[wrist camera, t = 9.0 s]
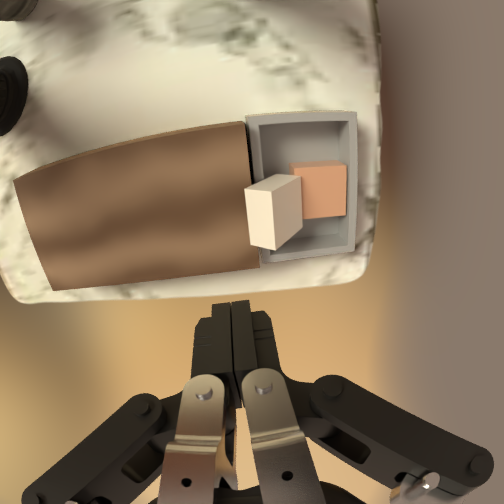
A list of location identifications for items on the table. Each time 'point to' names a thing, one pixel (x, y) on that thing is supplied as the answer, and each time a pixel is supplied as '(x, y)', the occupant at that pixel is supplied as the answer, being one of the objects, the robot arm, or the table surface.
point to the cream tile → (274, 210)
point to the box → (305, 150)
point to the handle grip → (11, 92)
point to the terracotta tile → (321, 187)
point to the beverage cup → (16, 9)
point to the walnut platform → (143, 209)
